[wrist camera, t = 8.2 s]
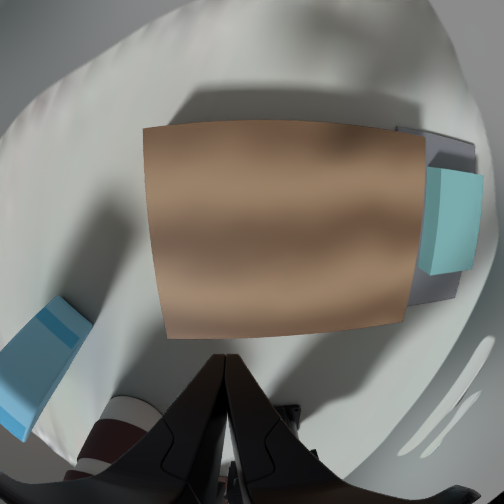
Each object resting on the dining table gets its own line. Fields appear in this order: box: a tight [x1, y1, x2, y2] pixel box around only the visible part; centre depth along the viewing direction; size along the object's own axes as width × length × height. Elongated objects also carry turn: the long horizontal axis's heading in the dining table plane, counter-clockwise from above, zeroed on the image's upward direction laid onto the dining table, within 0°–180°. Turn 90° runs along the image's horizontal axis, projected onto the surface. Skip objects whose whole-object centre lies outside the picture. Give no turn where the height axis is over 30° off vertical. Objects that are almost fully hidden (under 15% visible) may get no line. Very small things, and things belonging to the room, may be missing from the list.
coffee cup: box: [63, 396, 162, 481], centre depth 20 cm, size 10×10×15 cm
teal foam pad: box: [418, 167, 484, 275], centre depth 19 cm, size 9×6×2 cm, turn 2°
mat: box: [396, 127, 475, 306], centre depth 21 cm, size 16×10×1 cm, turn 1°
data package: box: [0, 296, 93, 442], centre depth 17 cm, size 12×4×12 cm, turn 137°
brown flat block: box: [143, 120, 426, 339], centre depth 18 cm, size 14×18×4 cm
